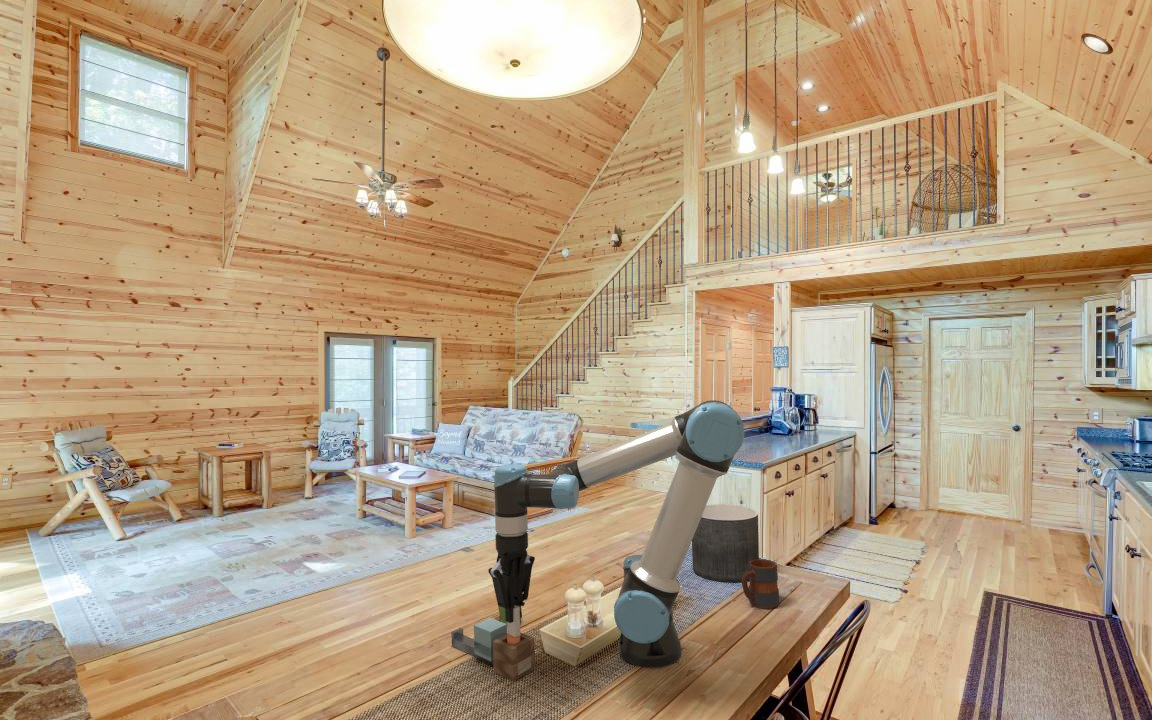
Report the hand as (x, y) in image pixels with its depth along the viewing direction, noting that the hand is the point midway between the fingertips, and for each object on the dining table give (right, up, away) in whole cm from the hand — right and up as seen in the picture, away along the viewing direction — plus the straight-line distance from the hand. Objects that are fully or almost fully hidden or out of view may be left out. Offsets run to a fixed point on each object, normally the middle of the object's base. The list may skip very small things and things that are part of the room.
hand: (513, 634), depth 133 cm
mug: (+68, -8, +33) cm, 76 cm away
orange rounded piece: (0, -4, 0) cm, 4 cm away
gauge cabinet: (0, -8, 0) cm, 8 cm away
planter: (+65, -8, +62) cm, 90 cm away
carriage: (-6, -7, +5) cm, 11 cm away
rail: (-9, -9, +8) cm, 15 cm away
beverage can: (-4, -9, +26) cm, 27 cm away
